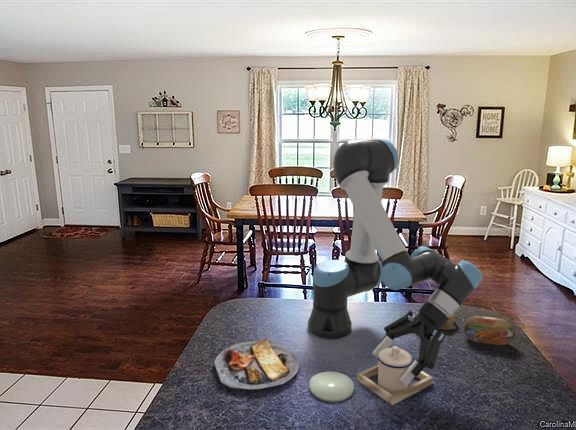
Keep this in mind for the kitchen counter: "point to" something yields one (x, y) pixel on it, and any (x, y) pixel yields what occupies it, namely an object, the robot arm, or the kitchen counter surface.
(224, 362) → the food plate
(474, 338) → the tin
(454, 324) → the bread roll
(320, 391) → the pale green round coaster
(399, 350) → the teacup with lid
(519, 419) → the kitchen counter surface
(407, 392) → the wooden frame
